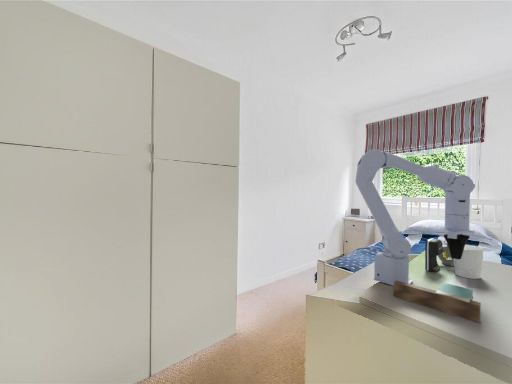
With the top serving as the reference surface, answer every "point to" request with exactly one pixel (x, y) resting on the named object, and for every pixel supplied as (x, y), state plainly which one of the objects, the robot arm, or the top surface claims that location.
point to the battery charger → (432, 254)
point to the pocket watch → (447, 254)
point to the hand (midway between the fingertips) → (456, 258)
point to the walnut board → (439, 300)
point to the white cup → (469, 262)
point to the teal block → (457, 290)
